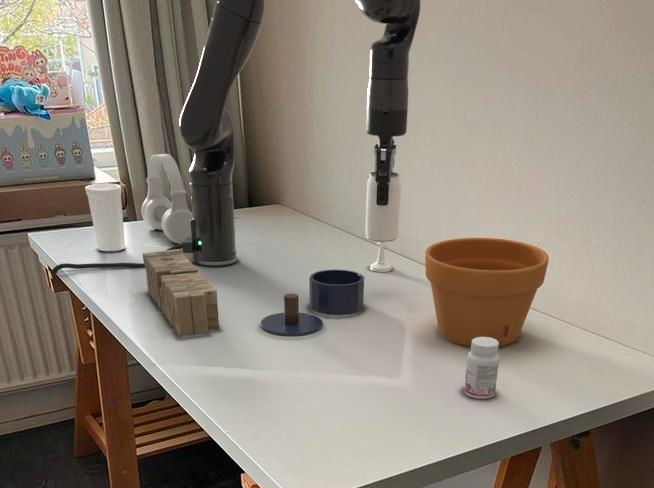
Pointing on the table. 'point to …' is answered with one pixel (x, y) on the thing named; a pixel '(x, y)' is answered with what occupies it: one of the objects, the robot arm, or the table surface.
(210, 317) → the block tower
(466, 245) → the flower pot
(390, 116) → the robot arm
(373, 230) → the can
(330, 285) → the pot
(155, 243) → the table surface
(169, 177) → the headphones
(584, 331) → the table surface
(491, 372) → the pill bottle
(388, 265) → the chess piece
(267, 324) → the lid
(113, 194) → the cup
